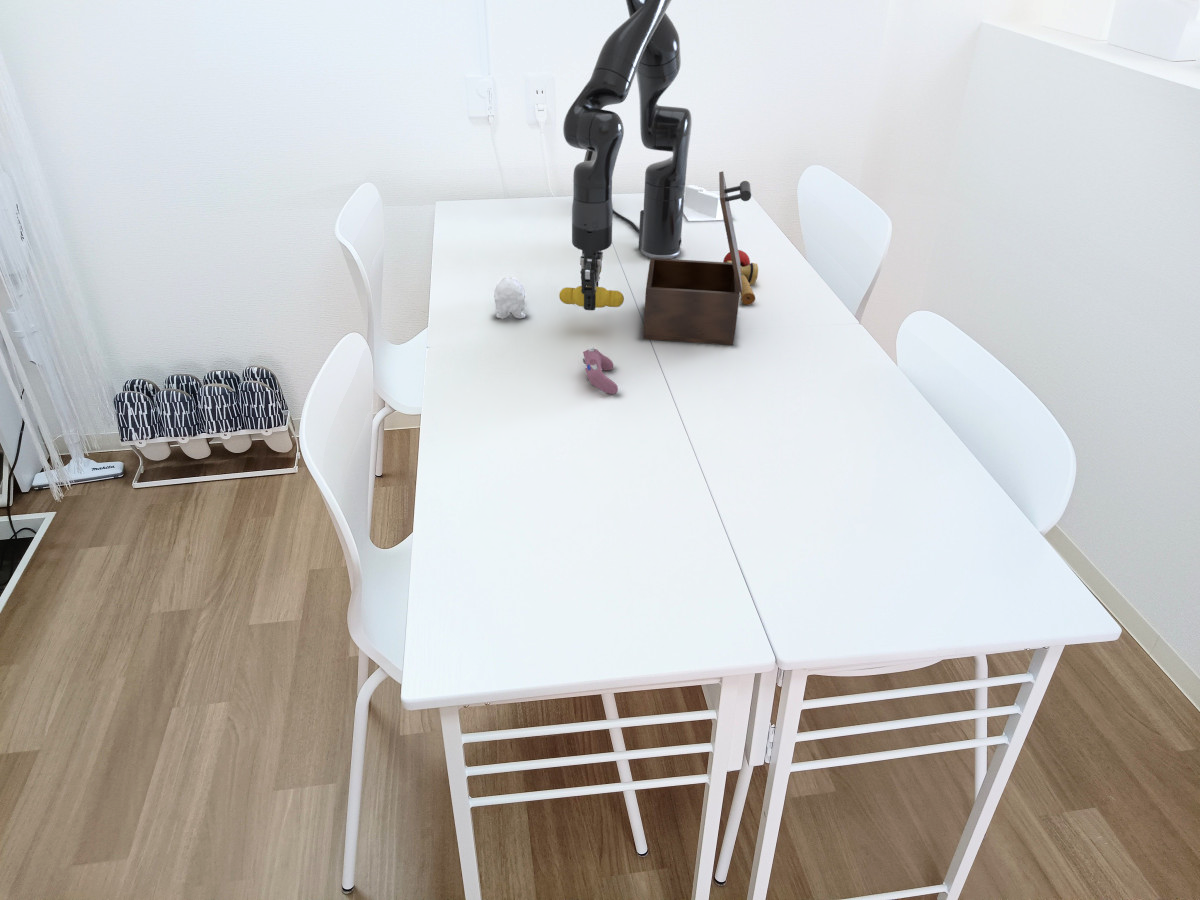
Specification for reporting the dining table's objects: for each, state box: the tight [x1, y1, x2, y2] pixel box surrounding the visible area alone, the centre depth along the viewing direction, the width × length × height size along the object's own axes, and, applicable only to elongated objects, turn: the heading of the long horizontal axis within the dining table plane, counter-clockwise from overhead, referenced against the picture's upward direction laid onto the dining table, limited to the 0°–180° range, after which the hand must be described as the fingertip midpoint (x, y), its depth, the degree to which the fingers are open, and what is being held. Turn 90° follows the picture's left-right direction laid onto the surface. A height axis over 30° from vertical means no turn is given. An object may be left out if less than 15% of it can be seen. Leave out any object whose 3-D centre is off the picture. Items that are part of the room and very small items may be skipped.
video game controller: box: [582, 347, 619, 395], centre depth 156 cm, size 10×5×7 cm, turn 5°
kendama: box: [722, 249, 759, 306], centre depth 191 cm, size 8×6×18 cm
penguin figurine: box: [493, 276, 527, 319], centre depth 178 cm, size 6×8×12 cm
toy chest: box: [642, 258, 741, 346], centre depth 174 cm, size 18×15×11 cm
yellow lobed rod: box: [558, 285, 625, 309], centre depth 170 cm, size 13×4×4 cm, turn 84°
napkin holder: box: [683, 184, 724, 222], centre depth 229 cm, size 15×11×6 cm
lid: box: [718, 170, 752, 293], centre depth 164 cm, size 19×15×5 cm
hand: (591, 303), depth 171 cm, fingers closed on yellow lobed rod, 4 cm apart
